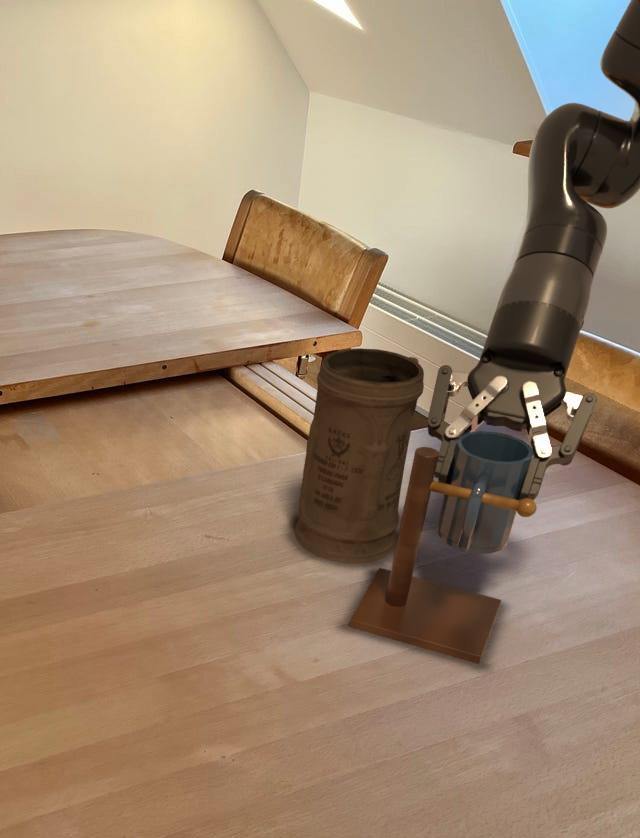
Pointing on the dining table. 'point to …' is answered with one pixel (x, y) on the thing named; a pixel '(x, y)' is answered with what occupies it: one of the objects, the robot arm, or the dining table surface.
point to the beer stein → (357, 454)
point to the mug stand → (424, 600)
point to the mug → (483, 491)
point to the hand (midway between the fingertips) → (482, 491)
